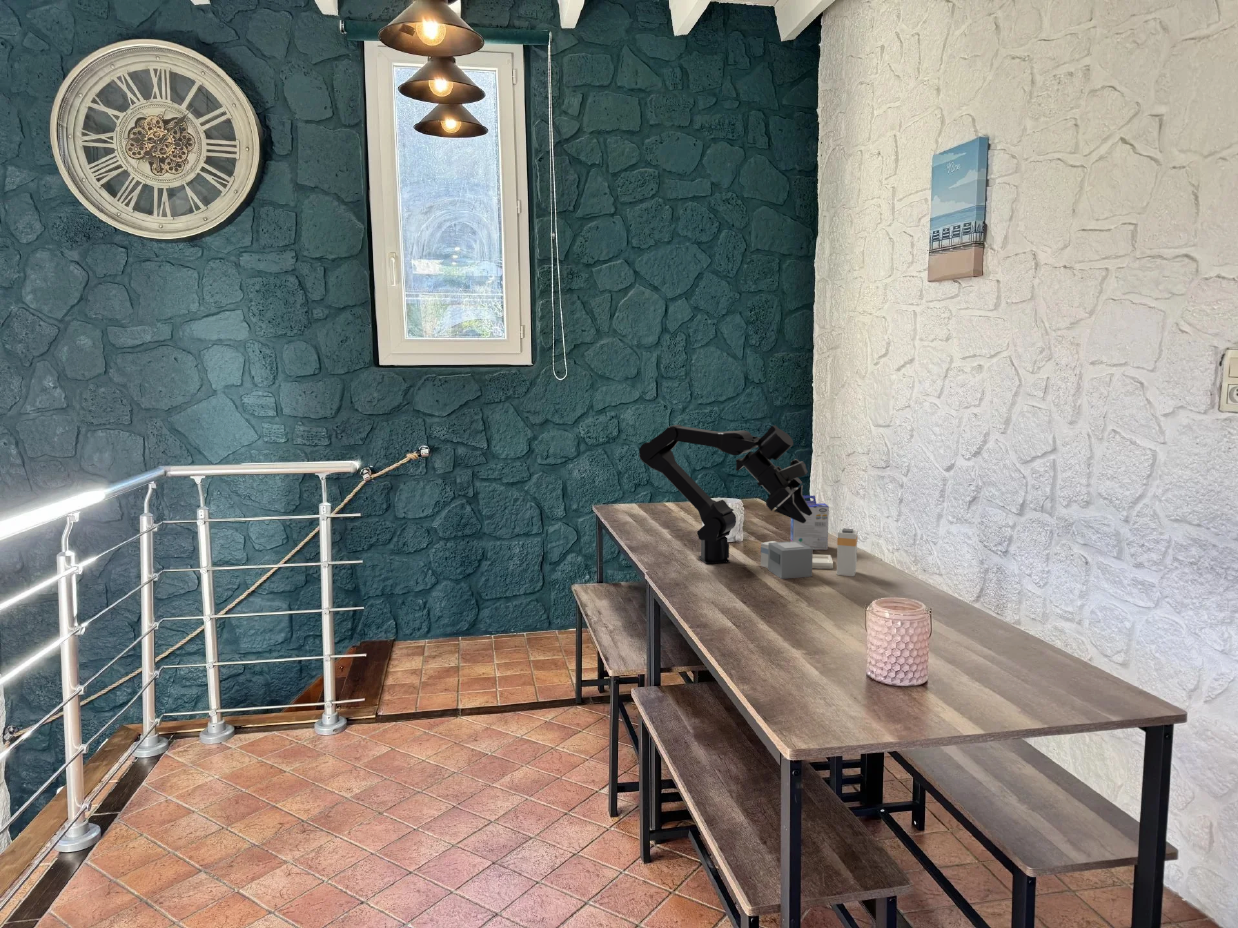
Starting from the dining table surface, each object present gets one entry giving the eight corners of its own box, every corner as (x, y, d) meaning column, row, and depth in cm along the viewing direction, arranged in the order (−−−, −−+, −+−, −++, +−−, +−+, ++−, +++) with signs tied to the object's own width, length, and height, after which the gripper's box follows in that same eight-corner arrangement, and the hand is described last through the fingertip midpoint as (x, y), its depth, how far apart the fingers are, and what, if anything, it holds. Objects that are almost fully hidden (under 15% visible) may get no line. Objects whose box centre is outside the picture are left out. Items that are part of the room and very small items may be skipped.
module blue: (772, 569, 205) (772, 546, 205) (760, 565, 209) (760, 543, 208) (784, 567, 208) (785, 544, 207) (772, 563, 211) (773, 540, 210)
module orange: (836, 574, 200) (837, 530, 199) (838, 570, 204) (839, 527, 203) (854, 576, 199) (856, 532, 197) (856, 571, 203) (857, 528, 201)
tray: (800, 567, 207) (800, 561, 207) (798, 559, 215) (798, 553, 214) (833, 568, 205) (833, 563, 205) (830, 560, 213) (830, 554, 213)
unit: (780, 578, 197) (781, 550, 196) (767, 570, 205) (768, 542, 204) (812, 576, 199) (813, 547, 198) (798, 567, 207) (798, 540, 206)
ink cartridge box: (824, 545, 229) (825, 494, 227) (828, 550, 224) (830, 498, 222) (789, 545, 230) (790, 494, 227) (792, 550, 224) (794, 498, 222)
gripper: (780, 454, 192) (827, 504, 190) (794, 445, 209) (837, 490, 207) (747, 485, 196) (792, 534, 194) (763, 474, 213) (805, 518, 211)
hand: (808, 518), depth 201 cm, fingers open, 9 cm apart
